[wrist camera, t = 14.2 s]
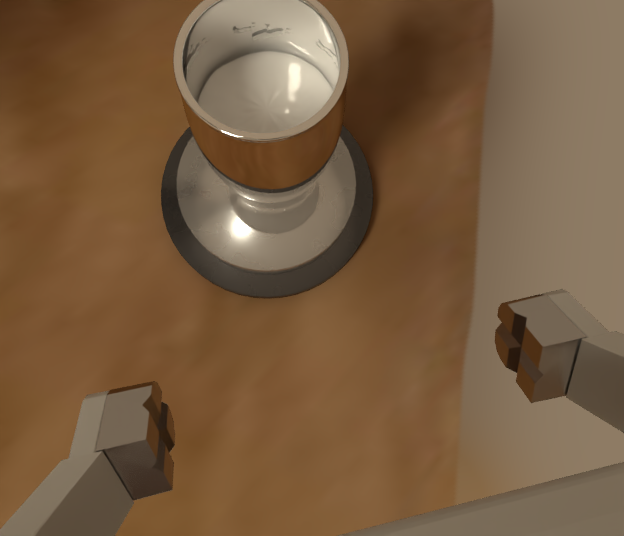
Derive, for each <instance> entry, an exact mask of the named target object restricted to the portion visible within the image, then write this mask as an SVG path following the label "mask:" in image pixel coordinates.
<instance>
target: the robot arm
mask: <svg viewBox="0 0 624 536" xmlns="http://www.w3.org/2000/svg"><path fill="white" fill-rule="evenodd" d="M498 318H499V319H500V320H501V322H502V323H501V324H500V326H499V327H498V328H497V329H496V332H495V344H496V349H497V352H498V355H499V357H500V359H501V360H502V362H503V363H504V365H505V367H506V368H508V369H510V370H512V371H514V372H516V373H517V378H516V382H517V384H518V385H519V387H520V388H521V389H522V391H523V392H524V394H525V395H526V396H527V398H528V399H529V401H530V402H531V403H534V402H538V401H543V400H548V399H552V398H557V397H562V396H566V395H567V396H566V397H567V398H568V399H569V400H571V401H573V402H574V403H576V404H578V405H579V406H581V407H582V408H584V409H586V410H587V411H589V412H591V413H592V414H594V415H596V416H597V417H599V418H600V419H602V420H604V421H605V422H607V423H609V424H610V425H612V426H613V427H615V428H617V429H618V430H620V431H622V432H623V433H624V334H622V333H619V332H617V331H615V332H609V331H608V330H607V329H606V328H604V326H603V325H602V324H601V323H599V322H598V321H597V320H596V319H595V318H594V317H593V316H592V315H591V314H590V313H589V312H588V311H587V310H586V309H585V308H584V307H583V306H582V305H581V304H580V303H579V302H578V301H577V300H576V299H575V298H574V297H573V296H572V295H571V294H570V293H569V292H567V291H565V290H563V289H560V290H556V291H551V292H547V293H543V294H541V295H535V296H530V297H526V298H522V299H518V300H513V301H509V302H505V303H502V304H501V305H500V307H499V309H498ZM161 400H162V391H161V389H160V387H159V385H158V383H157V382H155V381H153V382H147V383H142V384H137V385H132V386H127V387H122V388H117V389H112V390H110V391H105V392H100V393H95V394H89V395H87V396H86V397H85V399H84V400H83V402H82V406H81V410H80V414H79V418H78V422H77V426H76V430H75V434H74V438H73V442H72V447H71V451H70V455H69V459H65V460H61V462H60V463H59V464H58V465H57V466H56V467H55V468H54V469H53V471H52V472H51V473H50V474H49V475H48V476H47V477H46V478H45V480H44V481H43V482H42V483H41V484H40V485H39V486H38V487H37V489H36V490H35V491H34V492H33V493H32V494H31V495H30V496H29V498H28V499H27V500H26V501H25V502H24V503H23V504H22V505H21V507H20V508H19V509H18V510H17V511H16V512H15V513H14V514H13V516H12V517H11V518H10V519H9V520H8V521H7V522H6V523H5V525H4V526H3V527H2V528H1V529H0V536H115V534H116V533H117V531H118V529H119V528H120V526H121V524H122V522H123V521H124V519H125V517H126V516H127V514H128V512H129V511H130V509H131V507H132V505H133V504H134V502H133V500H137V499H141V498H144V497H148V496H152V495H156V494H159V493H163V492H167V491H170V490H172V489H173V470H174V462H173V460H172V458H171V456H170V454H169V453H170V451H171V450H172V448H173V447H174V446H175V430H174V421H173V418H172V414H171V411H170V409H169V406H168V405H167V404H165V403H163V402H161ZM338 536H624V462H622V463H618V464H614V465H610V466H606V467H602V468H598V469H594V470H590V471H587V472H583V473H579V474H575V475H571V476H567V477H564V478H559V479H555V480H552V481H548V482H544V483H541V484H536V485H533V486H529V487H525V488H521V489H517V490H513V491H509V492H505V493H501V494H497V495H494V496H489V497H486V498H482V499H478V500H474V501H470V502H467V503H462V504H458V505H455V506H451V507H447V508H443V509H439V510H435V511H431V512H427V513H424V514H420V515H416V516H412V517H408V518H404V519H400V520H396V521H392V522H389V523H385V524H381V525H377V526H373V527H369V528H365V529H361V530H357V531H354V532H350V533H346V534H342V535H338Z"/></svg>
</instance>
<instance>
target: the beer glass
mask: <svg viewBox="0 0 624 536" xmlns="http://www.w3.org/2000/svg"><path fill="white" fill-rule="evenodd" d="M173 67H174V75H175V79H176V83H177V86H178V88H179V91H180V93H181V98H182V102H183V106H184V109H185V113H186V117H187V120H188V123H189V126H190V129H191V131H192V134H193V137H194V139H195V142H196V144H197V146H198V147H199V149H200V151H201V153H202V155H203V157H204V159H205V160H206V162H207V163H208V165H209V166H210V167H211V169H212V170H213V171H214V172H215V173H216V175H217V176H218V177H219V178H220V179H221V180H222V181H223V182H224V183H225V184H226V185H227V186H228V194H229V200H230V203H231V206H232V208H233V210H234V212H235V214H236V215H237V217H238V218H239V219H240V220H241V221H242V222H243V223H244V224H246V225H247V226H248V227H250V228H252V229H254V230H256V231H258V232H262V233H266V234H283V233H287V232H290V231H293V230H295V229H297V228H299V227H300V226H302V225H303V224H304V223H305V222H306V221H307V220H308V219H309V218H310V217H311V216H312V215H313V213H314V212H315V210H316V208H317V205H318V202H319V198H320V182H319V178H320V176H321V175H322V174H323V172H324V171H325V169H326V168H327V166H328V164H329V162H330V160H331V158H332V156H333V154H334V152H335V150H336V147H337V144H338V140H339V137H340V134H341V130H342V125H343V119H344V112H345V103H346V87H347V77H348V70H349V55H348V49H347V44H346V41H345V38H344V35H343V33H342V30H341V28H340V26H339V25H338V23H337V21H336V20H335V19H334V17H333V16H332V15H331V13H330V12H329V11H328V10H327V9H326V8H325V7H324V6H323V5H322V4H321V3H319V2H318V1H317V0H204V1H203V2H201V3H200V4H199V5H198V6H197V7H196V8H195V9H194V10H193V11H192V12H191V13H190V15H189V16H188V17H187V19H186V20H185V22H184V23H183V25H182V27H181V29H180V31H179V34H178V36H177V39H176V43H175V47H174V55H173Z"/></svg>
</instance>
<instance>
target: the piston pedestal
mask: <svg viewBox="0 0 624 536" xmlns="http://www.w3.org/2000/svg"><path fill="white" fill-rule="evenodd" d="M319 182H320V198H319V202H318V205H317V208H316V210H315V212H314V213H313V215H312V216H311V217H310V218H309V219H308V220H307V221H306V222H305V223H304V224H303V225H302V226H300V227H299V228H297V229H295V230H293V231H290V232H287V233H283V234H266V233H262V232H258V231H256V230H254V229H252V228H250V227H248V226H247V225H246V224H244V223H243V222H242V221H241V220H240V219H239V218H238V217H237V215H236V214H235V212H234V210H233V208H232V206H231V203H230V200H229V194H228V186H227V185H226V184H225V183H224V182H223V181H222V180H221V179H220V178H219V177H218V176H217V175H216V173H215V172H214V171H213V170H212V169H211V167H210V166H209V165H208V163H207V162H206V160H205V159H204V157H203V155H202V153H201V151H200V149H199V147H198V146H197V144H196V142H195V139H194V137H193V134H192V131H191V129H190V127H189V128H188V129H187V130H186V131H185V132H184V134H183V135H182V136H181V137H180V139H179V140H178V141H177V143H176V145H175V147H174V148H173V150H172V152H171V154H170V156H169V159H168V161H167V164H166V167H165V171H164V175H163V180H162V188H161V204H162V211H163V217H164V220H165V224H166V227H167V230H168V232H169V235H170V237H171V239H172V241H173V243H174V245H175V246H176V248H177V249H178V251H179V252H180V254H181V255H182V256H183V258H184V259H185V260H186V261H187V262H188V263H189V264H190V266H192V267H193V268H194V269H195V270H196V271H197V272H198V273H199V274H201V275H202V276H203V277H204V278H206V279H207V280H209V281H210V282H212V283H213V284H215V285H217V286H219V287H221V288H223V289H225V290H227V291H230V292H233V293H236V294H239V295H243V296H248V297H253V298H282V297H287V296H292V295H296V294H299V293H302V292H305V291H308V290H310V289H312V288H314V287H316V286H319V285H321V284H322V283H324V282H325V281H327V280H328V279H330V278H331V277H332V276H334V275H335V274H336V273H337V272H338V271H339V270H340V269H342V268H343V266H344V265H345V264H346V263H347V262H348V261H349V260H350V258H351V257H352V256H353V254H354V253H355V251H356V250H357V248H358V247H359V245H360V243H361V241H362V239H363V237H364V235H365V233H366V230H367V227H368V224H369V221H370V217H371V211H372V205H373V188H372V179H371V175H370V171H369V167H368V164H367V161H366V159H365V156H364V154H363V152H362V150H361V148H360V147H359V145H358V143H357V142H356V140H355V139H354V138H353V136H352V135H351V133H350V132H349V131H348V130H347V129H346V128H345V127H344V126H343V125H342V130H341V134H340V137H339V140H338V144H337V147H336V150H335V152H334V154H333V156H332V158H331V160H330V162H329V164H328V166H327V168H326V169H325V171H324V172H323V174H322V175H321V176H320V178H319Z"/></svg>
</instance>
